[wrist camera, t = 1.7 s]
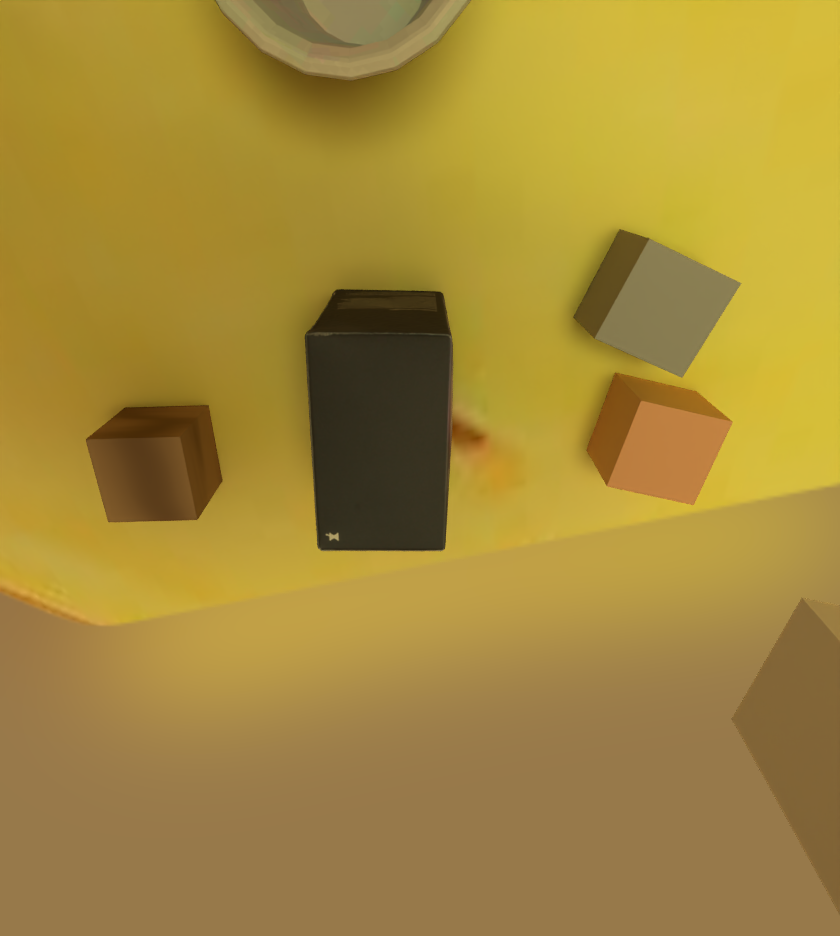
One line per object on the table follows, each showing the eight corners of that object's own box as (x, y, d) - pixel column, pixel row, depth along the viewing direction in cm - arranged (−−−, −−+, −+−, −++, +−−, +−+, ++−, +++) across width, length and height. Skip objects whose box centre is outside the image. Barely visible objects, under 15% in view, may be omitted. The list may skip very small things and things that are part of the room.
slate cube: (573, 316, 36) (594, 338, 31) (619, 229, 34) (649, 238, 29) (650, 351, 37) (681, 377, 32) (700, 268, 35) (741, 283, 30)
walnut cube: (143, 482, 40) (108, 522, 36) (125, 407, 38) (85, 439, 34) (222, 480, 40) (197, 519, 36) (209, 404, 38) (180, 436, 34)
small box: (444, 464, 40) (450, 558, 30) (339, 462, 40) (311, 556, 30) (449, 289, 35) (459, 335, 26) (330, 287, 35) (296, 332, 26)
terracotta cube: (586, 449, 39) (607, 486, 35) (614, 372, 37) (641, 400, 33) (663, 466, 40) (693, 505, 35) (695, 391, 38) (732, 421, 33)
